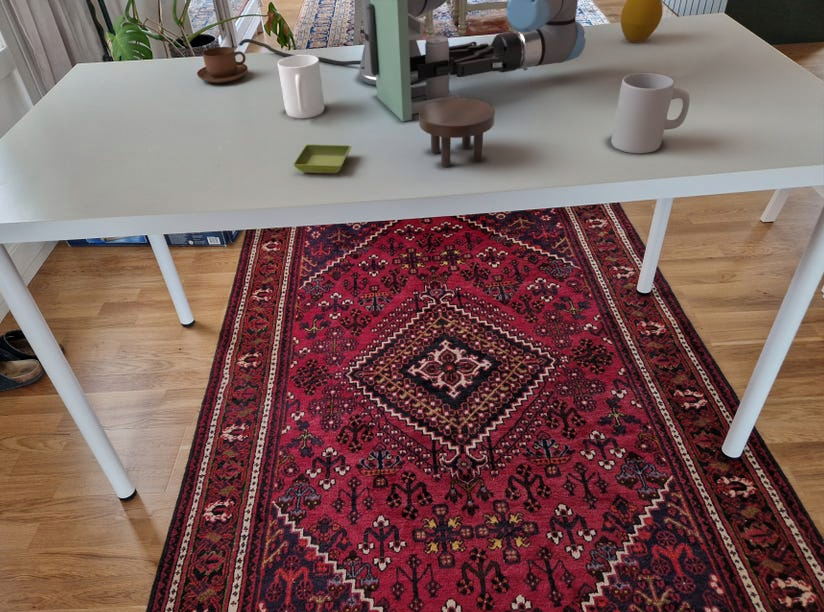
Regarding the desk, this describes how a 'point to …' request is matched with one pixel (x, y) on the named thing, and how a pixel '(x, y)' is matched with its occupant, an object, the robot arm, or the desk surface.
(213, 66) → the cup and saucer
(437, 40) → the beverage can
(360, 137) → the desk surface
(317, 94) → the cup
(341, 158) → the green square dish
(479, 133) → the stool
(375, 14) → the mint green upright panel
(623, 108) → the mug
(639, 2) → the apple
